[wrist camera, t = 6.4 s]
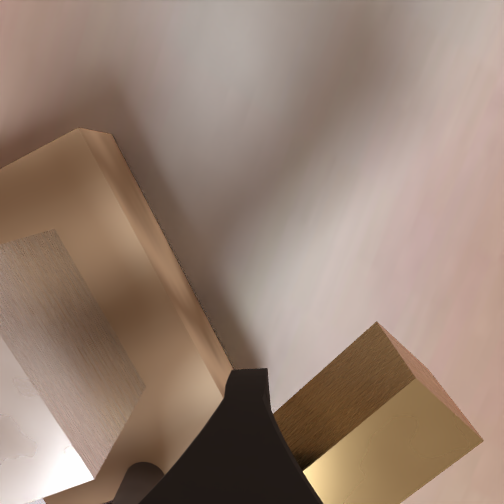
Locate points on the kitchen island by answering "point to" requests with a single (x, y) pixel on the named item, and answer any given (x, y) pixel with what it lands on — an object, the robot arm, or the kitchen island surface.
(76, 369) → the white boxy block
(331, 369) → the wooden block
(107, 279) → the base
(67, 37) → the kitchen island surface
